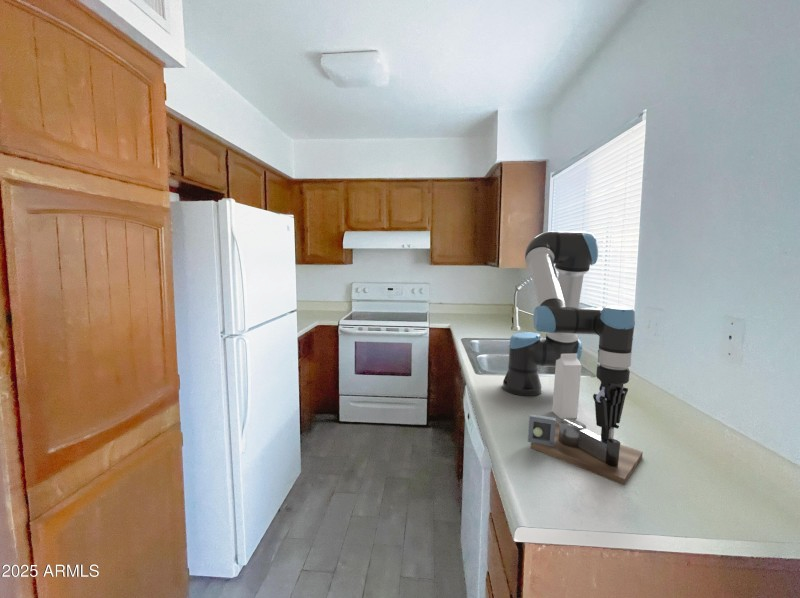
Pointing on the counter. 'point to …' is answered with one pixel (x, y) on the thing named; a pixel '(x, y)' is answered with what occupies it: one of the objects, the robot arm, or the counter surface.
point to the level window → (541, 430)
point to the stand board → (593, 459)
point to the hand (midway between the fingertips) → (605, 449)
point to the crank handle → (589, 441)
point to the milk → (566, 386)
